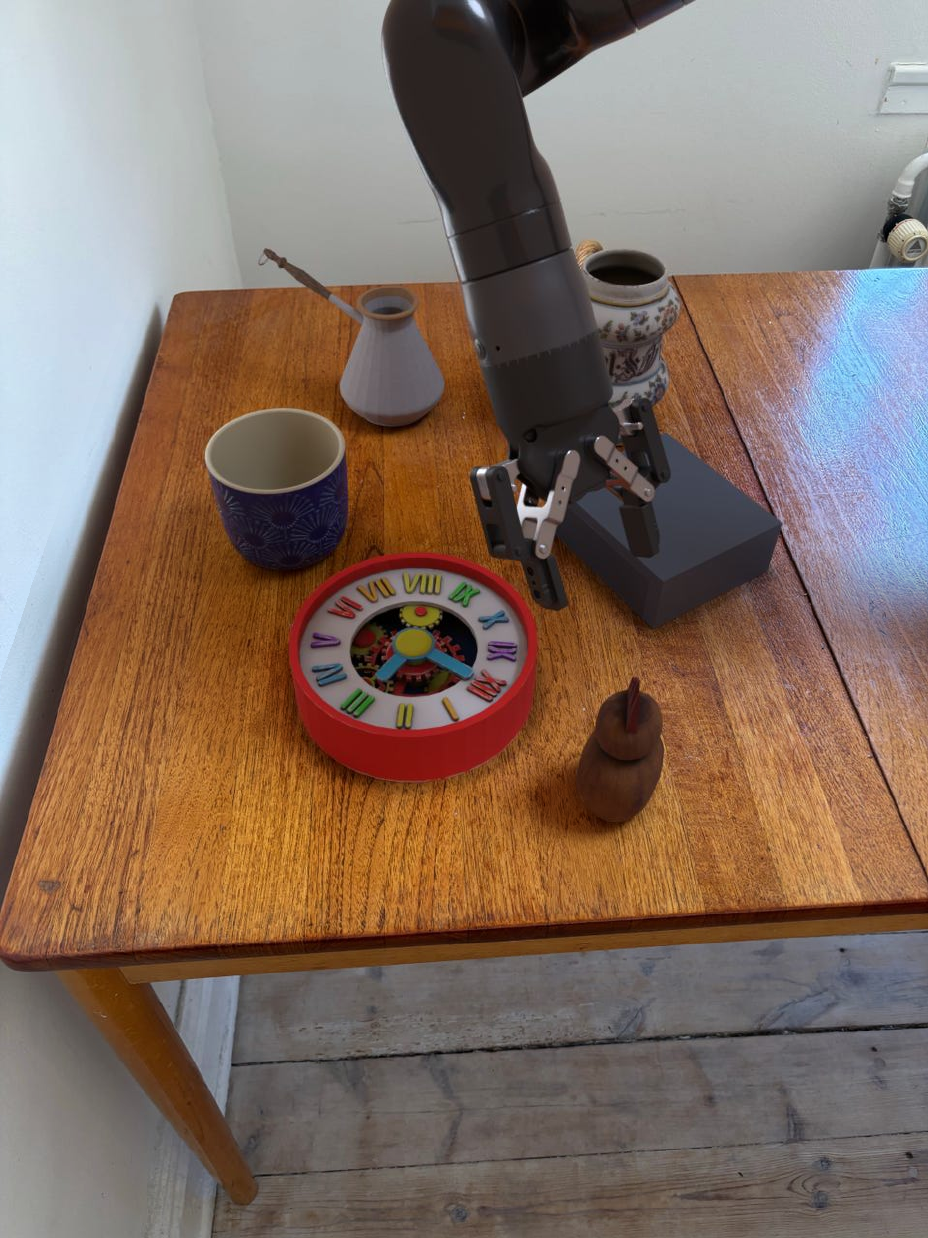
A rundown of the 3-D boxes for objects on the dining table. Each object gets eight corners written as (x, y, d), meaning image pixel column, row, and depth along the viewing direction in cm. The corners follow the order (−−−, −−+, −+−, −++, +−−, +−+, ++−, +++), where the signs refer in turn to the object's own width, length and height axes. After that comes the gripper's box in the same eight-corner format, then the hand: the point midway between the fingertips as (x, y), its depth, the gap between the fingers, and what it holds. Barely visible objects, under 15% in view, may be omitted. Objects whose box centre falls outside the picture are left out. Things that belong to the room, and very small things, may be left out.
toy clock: (391, 521, 90) (584, 615, 83) (394, 568, 95) (577, 661, 87) (234, 659, 79) (441, 782, 71) (246, 705, 84) (442, 826, 76)
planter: (312, 600, 92) (298, 508, 84) (199, 560, 95) (175, 468, 87) (377, 518, 100) (370, 427, 92) (270, 484, 103) (254, 394, 95)
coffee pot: (463, 394, 114) (463, 270, 103) (412, 449, 107) (407, 322, 96) (306, 345, 121) (291, 224, 110) (248, 394, 114) (226, 269, 103)
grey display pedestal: (657, 479, 104) (666, 431, 100) (768, 570, 95) (783, 522, 90) (547, 528, 99) (551, 480, 94) (653, 629, 90) (663, 581, 85)
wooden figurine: (631, 848, 75) (662, 725, 64) (560, 815, 76) (578, 690, 65) (665, 781, 79) (699, 655, 68) (597, 751, 80) (619, 624, 70)
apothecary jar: (599, 376, 117) (617, 225, 104) (683, 420, 111) (714, 266, 98) (529, 419, 111) (538, 265, 98) (613, 468, 105) (636, 311, 92)
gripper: (483, 372, 55) (560, 635, 61) (659, 299, 62) (715, 542, 67) (411, 382, 61) (488, 620, 67) (579, 314, 68) (636, 535, 74)
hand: (602, 580), depth 67 cm, fingers open, 8 cm apart
